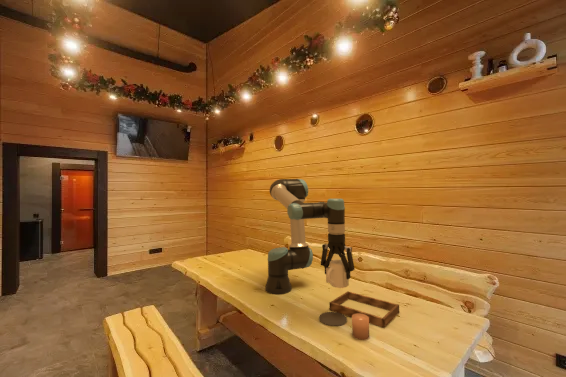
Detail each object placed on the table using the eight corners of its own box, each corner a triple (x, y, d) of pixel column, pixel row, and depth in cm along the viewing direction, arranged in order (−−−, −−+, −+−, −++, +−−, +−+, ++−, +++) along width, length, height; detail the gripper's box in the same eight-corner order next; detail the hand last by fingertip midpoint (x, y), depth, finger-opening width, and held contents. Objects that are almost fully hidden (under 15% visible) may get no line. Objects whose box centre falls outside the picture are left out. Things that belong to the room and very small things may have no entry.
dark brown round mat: (313, 320, 114) (313, 318, 115) (328, 310, 123) (328, 309, 123) (337, 329, 106) (337, 327, 106) (351, 318, 115) (351, 317, 115)
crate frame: (329, 309, 124) (329, 302, 124) (347, 297, 138) (347, 291, 138) (384, 328, 107) (384, 319, 107) (399, 312, 120) (399, 304, 120)
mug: (334, 291, 110) (334, 267, 110) (320, 286, 117) (320, 263, 117) (352, 285, 117) (352, 262, 117) (338, 280, 124) (338, 258, 124)
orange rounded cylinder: (349, 335, 102) (348, 317, 102) (356, 329, 106) (356, 311, 107) (365, 341, 97) (364, 322, 98) (372, 334, 102) (371, 316, 102)
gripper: (312, 232, 121) (312, 281, 121) (354, 236, 107) (356, 292, 107) (320, 230, 126) (321, 277, 126) (362, 234, 113) (363, 286, 113)
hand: (337, 283), depth 117 cm, fingers closed on mug, 8 cm apart
